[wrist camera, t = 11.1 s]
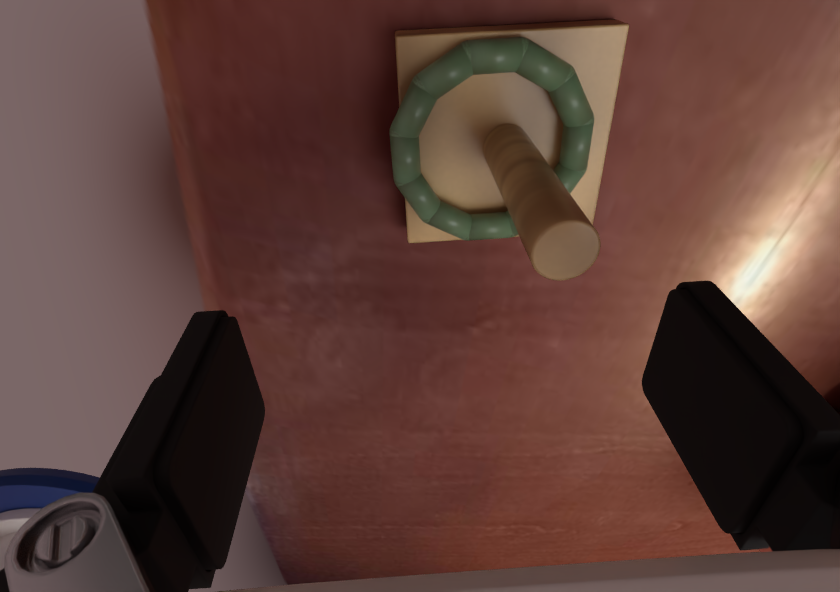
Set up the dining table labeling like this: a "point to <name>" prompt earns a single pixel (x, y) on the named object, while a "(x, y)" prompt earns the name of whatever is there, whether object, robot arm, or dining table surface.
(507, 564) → the dining table surface
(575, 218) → the stand
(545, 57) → the ring
